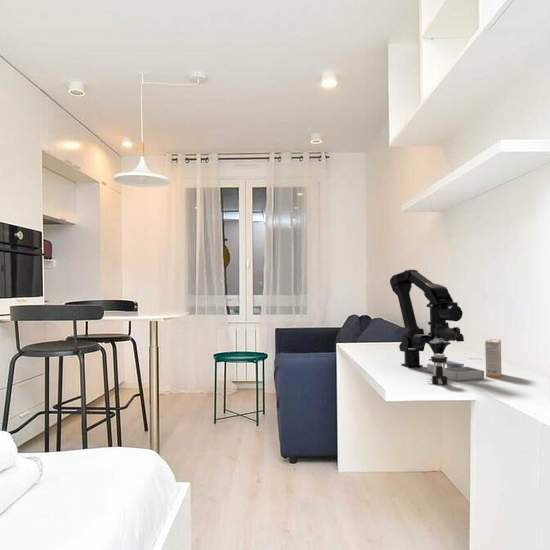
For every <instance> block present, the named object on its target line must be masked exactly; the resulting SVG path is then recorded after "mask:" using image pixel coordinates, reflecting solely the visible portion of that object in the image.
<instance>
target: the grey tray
mask: <svg viewBox="0 0 550 550" xmlns="http://www.w3.org/2000/svg"><path fill="white" fill-rule="evenodd" d="M426 365H427V368H426V370H427V372H428V373H431V374H433V373H434V364H431V363H427V364H426ZM442 370H443V366H442ZM445 374H446V375H443V376H446V377H447V380H451V381H454V382H465V381H466V382H467V381H477V380H478V381H480V380H485V371H484V370H481V369H478V368H474V367H470V366H465V365H464V366H458V365H446V367H445Z"/></svg>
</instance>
